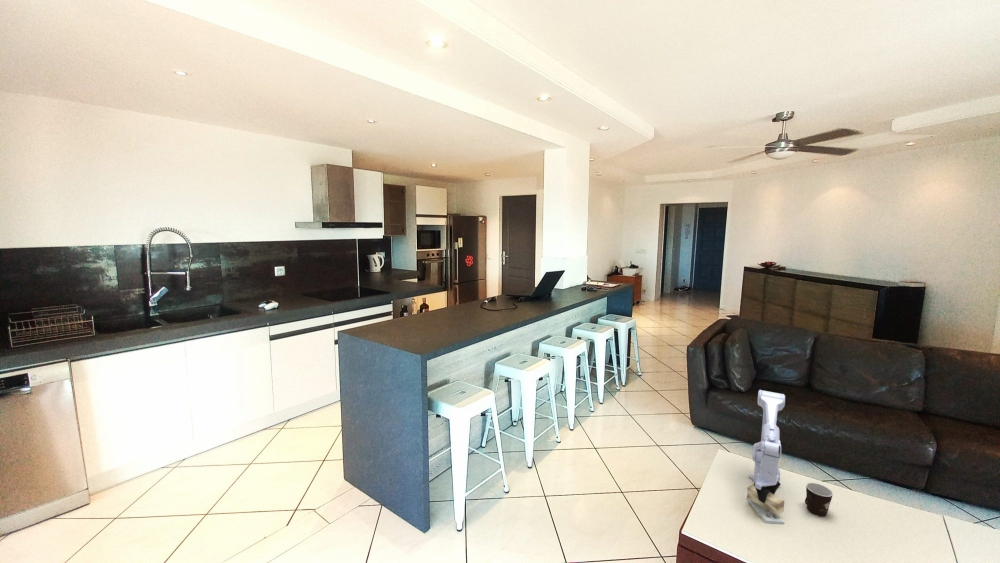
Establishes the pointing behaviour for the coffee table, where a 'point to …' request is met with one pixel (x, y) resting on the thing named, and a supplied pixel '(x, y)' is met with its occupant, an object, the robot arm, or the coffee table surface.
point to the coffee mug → (818, 499)
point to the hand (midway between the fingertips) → (765, 499)
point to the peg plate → (766, 514)
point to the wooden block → (767, 500)
